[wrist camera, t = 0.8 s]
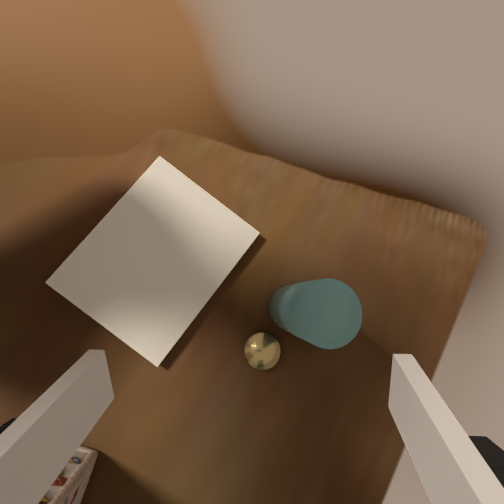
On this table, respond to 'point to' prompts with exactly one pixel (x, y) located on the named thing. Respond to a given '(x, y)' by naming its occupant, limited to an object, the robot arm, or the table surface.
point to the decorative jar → (72, 478)
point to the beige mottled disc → (262, 350)
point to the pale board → (154, 260)
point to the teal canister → (317, 312)
